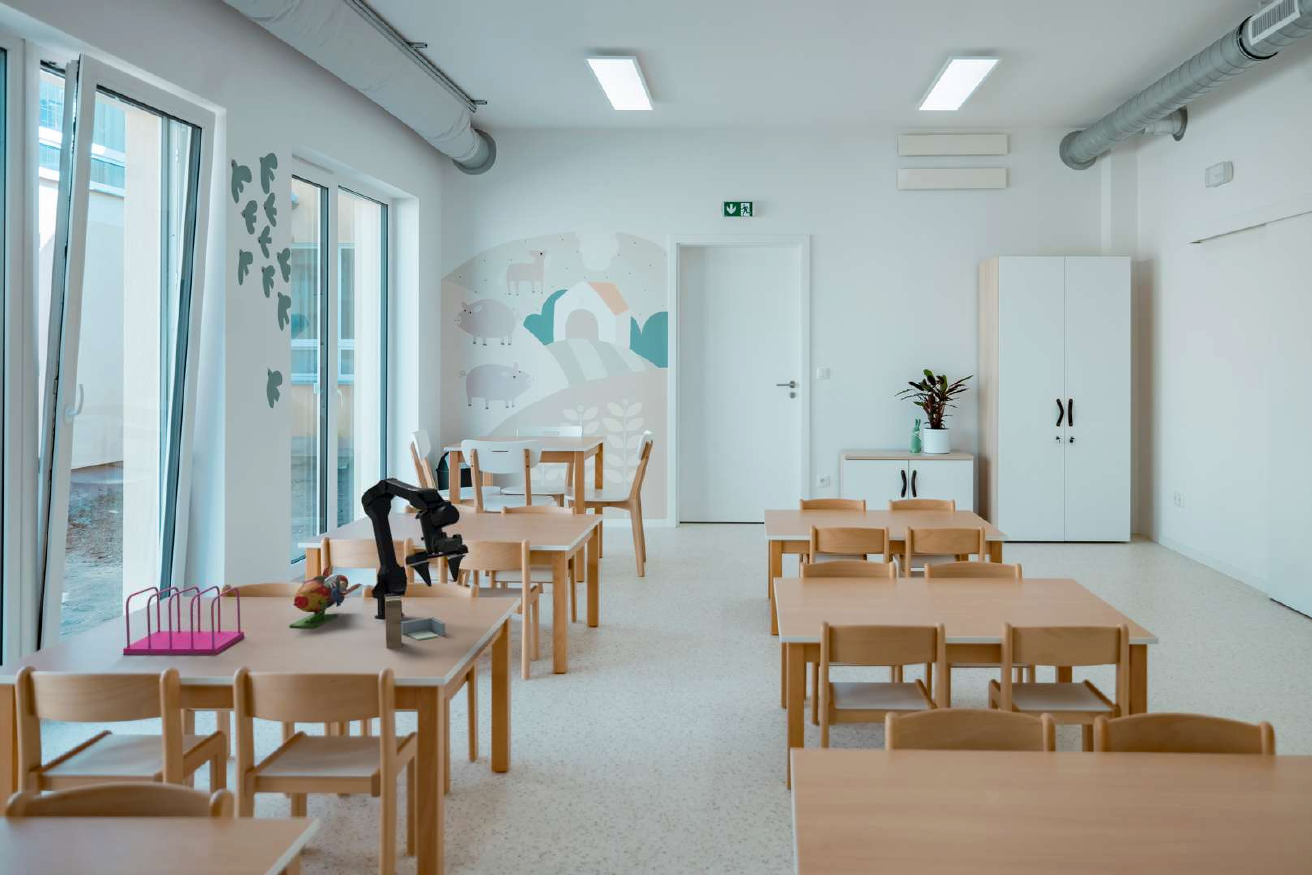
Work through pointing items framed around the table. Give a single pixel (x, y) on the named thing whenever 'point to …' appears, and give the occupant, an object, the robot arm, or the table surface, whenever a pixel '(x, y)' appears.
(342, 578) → the kendama
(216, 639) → the file sorter
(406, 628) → the grey corner fixture
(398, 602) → the walnut block
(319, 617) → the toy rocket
